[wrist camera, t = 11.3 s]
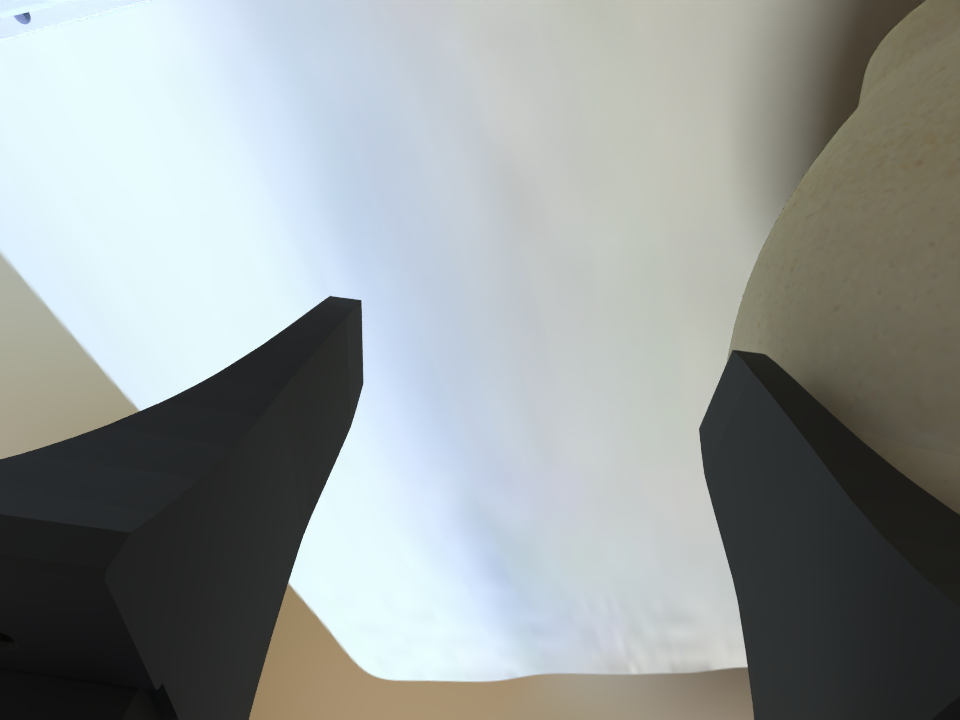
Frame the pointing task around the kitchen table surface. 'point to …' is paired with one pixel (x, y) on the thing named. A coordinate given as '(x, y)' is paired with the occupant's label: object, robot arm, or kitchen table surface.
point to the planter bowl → (878, 261)
